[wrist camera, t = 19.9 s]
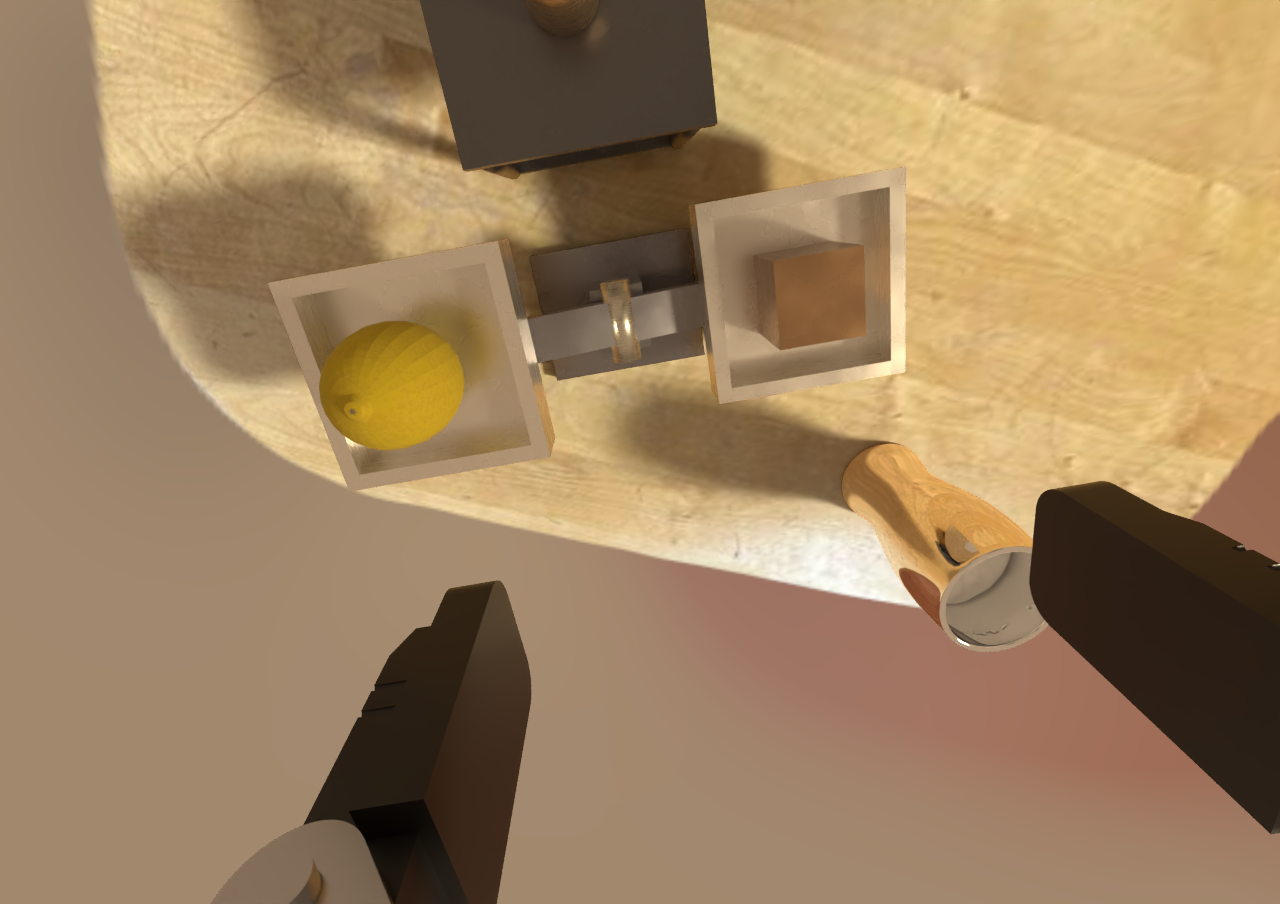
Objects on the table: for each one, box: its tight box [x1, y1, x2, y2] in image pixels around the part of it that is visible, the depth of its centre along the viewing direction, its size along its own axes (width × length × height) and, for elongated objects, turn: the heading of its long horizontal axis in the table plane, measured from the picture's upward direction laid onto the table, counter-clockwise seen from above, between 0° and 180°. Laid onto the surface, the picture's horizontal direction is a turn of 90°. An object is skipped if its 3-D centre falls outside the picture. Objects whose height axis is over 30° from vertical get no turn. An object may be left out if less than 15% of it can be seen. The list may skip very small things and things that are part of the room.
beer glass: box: [842, 443, 1049, 652], centre depth 37 cm, size 7×7×15 cm
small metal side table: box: [420, 0, 717, 179], centre depth 26 cm, size 11×11×17 cm
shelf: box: [268, 167, 906, 491], centre depth 34 cm, size 11×31×11 cm, turn 99°
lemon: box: [319, 321, 465, 450], centre depth 26 cm, size 6×6×8 cm
